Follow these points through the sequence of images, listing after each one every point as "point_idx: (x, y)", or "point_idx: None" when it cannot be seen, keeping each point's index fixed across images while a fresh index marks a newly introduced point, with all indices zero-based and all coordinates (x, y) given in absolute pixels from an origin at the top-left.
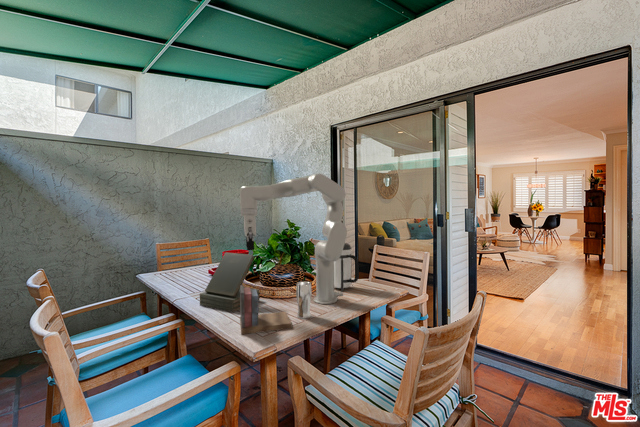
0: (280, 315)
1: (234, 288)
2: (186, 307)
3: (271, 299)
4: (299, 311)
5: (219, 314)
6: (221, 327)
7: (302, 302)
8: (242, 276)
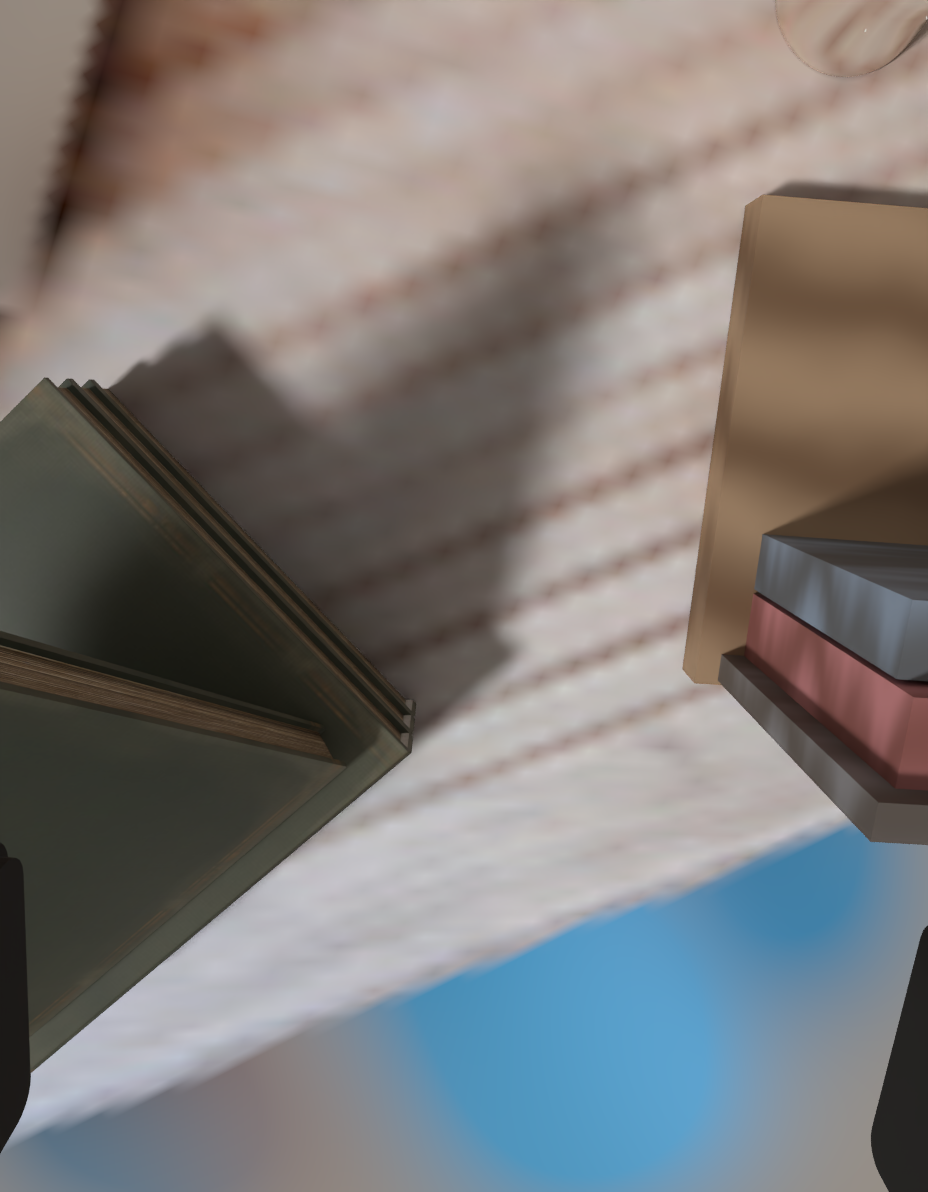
0: (854, 283)
1: (263, 778)
2: (113, 1091)
3: (111, 230)
4: (904, 33)
5: (424, 828)
6: (751, 822)
7: None
8: (152, 723)
